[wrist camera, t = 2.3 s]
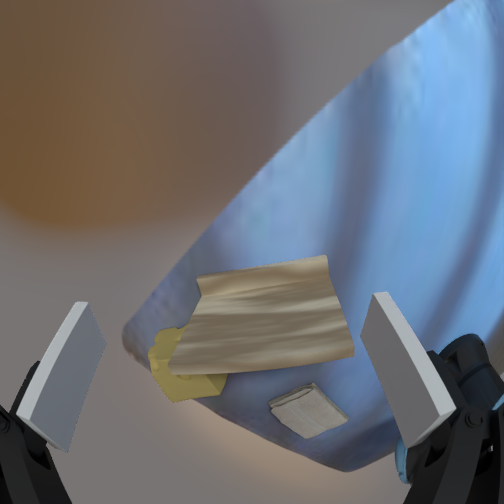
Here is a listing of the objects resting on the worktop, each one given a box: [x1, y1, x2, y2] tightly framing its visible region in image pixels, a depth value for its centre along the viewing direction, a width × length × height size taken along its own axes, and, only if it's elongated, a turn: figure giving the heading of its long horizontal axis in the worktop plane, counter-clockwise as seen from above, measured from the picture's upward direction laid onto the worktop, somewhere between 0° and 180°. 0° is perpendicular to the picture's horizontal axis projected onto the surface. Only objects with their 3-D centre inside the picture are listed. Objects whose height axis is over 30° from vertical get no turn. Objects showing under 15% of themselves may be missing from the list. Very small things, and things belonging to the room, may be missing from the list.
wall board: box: [167, 255, 354, 375], centre depth 36 cm, size 16×20×18 cm
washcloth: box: [268, 382, 349, 439], centre depth 52 cm, size 12×18×3 cm, turn 39°
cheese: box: [148, 325, 228, 402], centre depth 44 cm, size 10×11×10 cm
